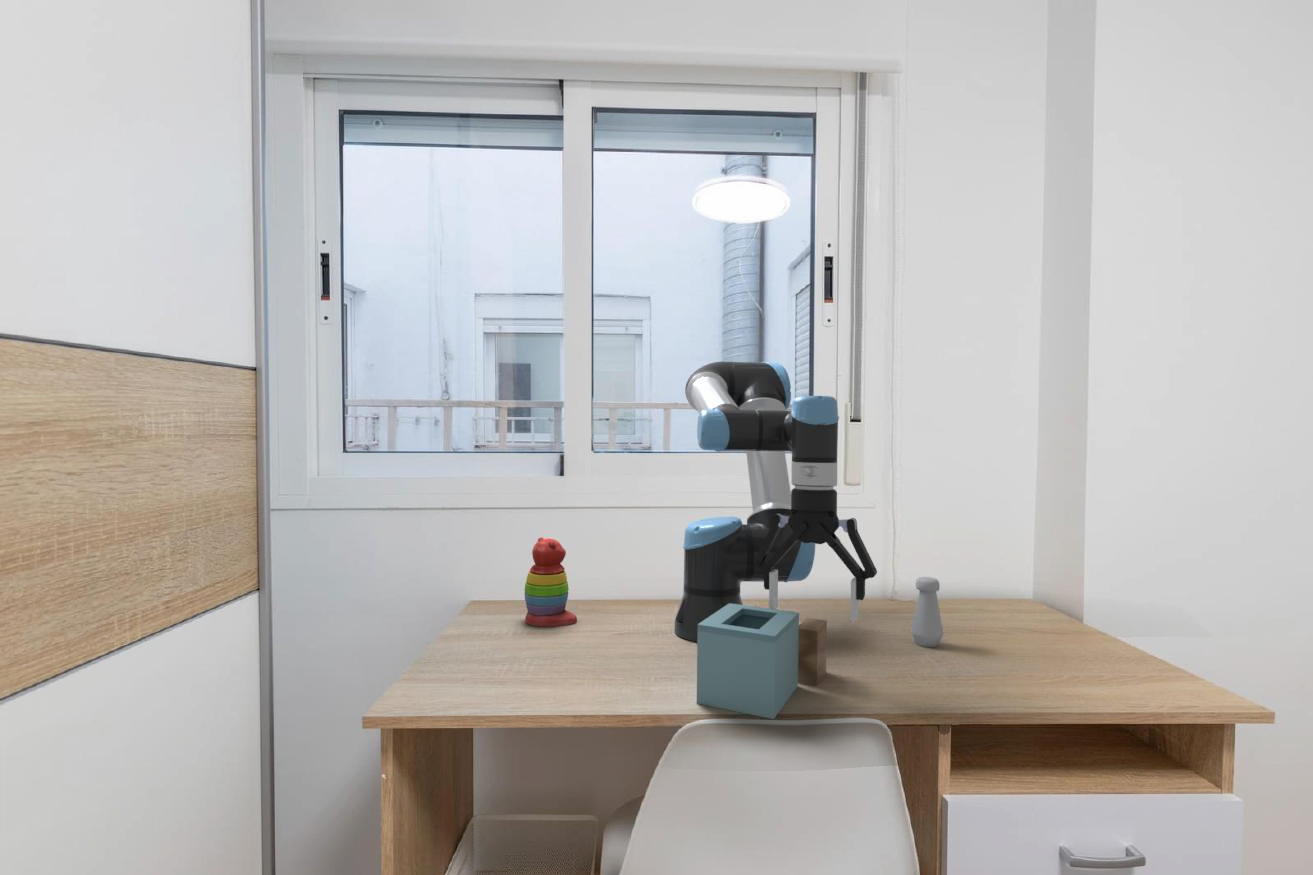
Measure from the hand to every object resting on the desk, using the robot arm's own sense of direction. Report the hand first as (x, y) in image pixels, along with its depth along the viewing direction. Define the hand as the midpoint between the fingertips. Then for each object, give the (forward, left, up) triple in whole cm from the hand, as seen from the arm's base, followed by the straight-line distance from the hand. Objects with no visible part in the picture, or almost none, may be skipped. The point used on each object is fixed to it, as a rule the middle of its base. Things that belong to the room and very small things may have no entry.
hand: (812, 614), depth 111 cm
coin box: (-7, -12, -11) cm, 17 cm away
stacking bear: (-59, +6, -11) cm, 60 cm away
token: (0, 0, -11) cm, 11 cm away
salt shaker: (+16, +29, -11) cm, 35 cm away
